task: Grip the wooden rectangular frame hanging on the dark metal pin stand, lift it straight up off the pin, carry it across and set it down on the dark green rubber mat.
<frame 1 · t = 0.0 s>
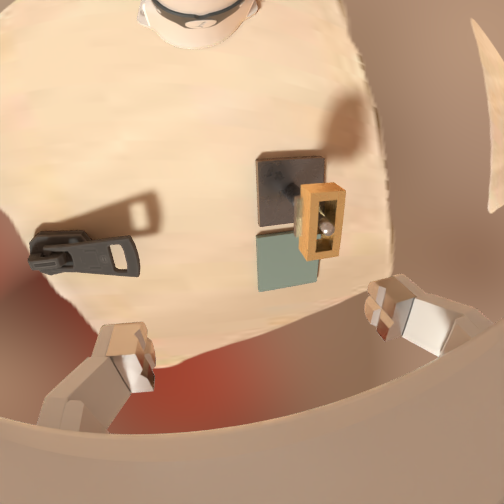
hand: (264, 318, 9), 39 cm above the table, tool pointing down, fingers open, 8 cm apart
rubber mat: (288, 259, 57), on the table
wooden rectangular frame: (316, 216, 39), point 12 cm above the table, touching pin stand
zipper pull: (84, 245, 46), on the table
pin stand: (289, 189, 49), on the table
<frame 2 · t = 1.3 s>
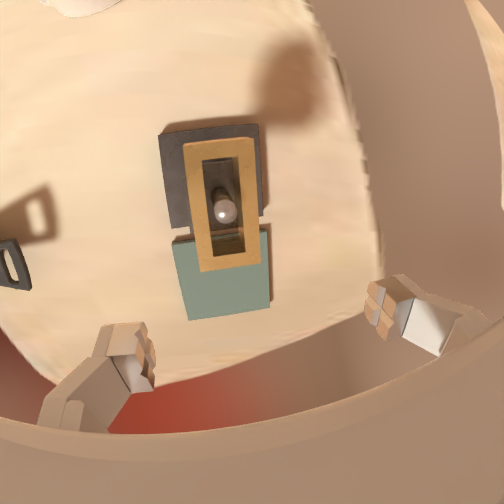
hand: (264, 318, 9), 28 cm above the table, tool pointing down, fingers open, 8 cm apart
rubber mat: (223, 276, 41), on the table
wooden rectangular frame: (220, 197, 23), point 12 cm above the table, touching pin stand
pin stand: (211, 174, 34), on the table
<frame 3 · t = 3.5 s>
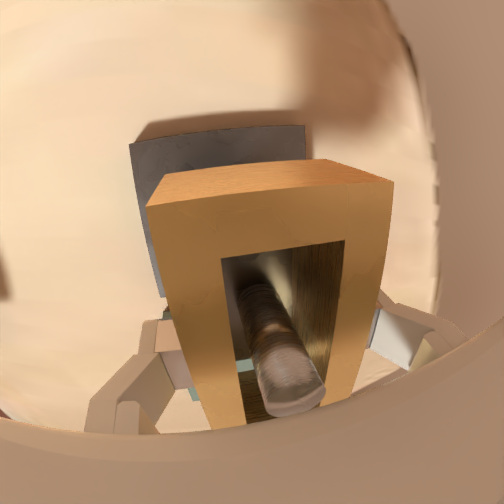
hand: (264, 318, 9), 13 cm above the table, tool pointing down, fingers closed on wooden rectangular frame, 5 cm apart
rubber mat: (240, 351, 27), on the table
wooden rectangular frame: (258, 302, 10), point 12 cm above the table, touching gripper, pin stand
pin stand: (223, 209, 21), on the table
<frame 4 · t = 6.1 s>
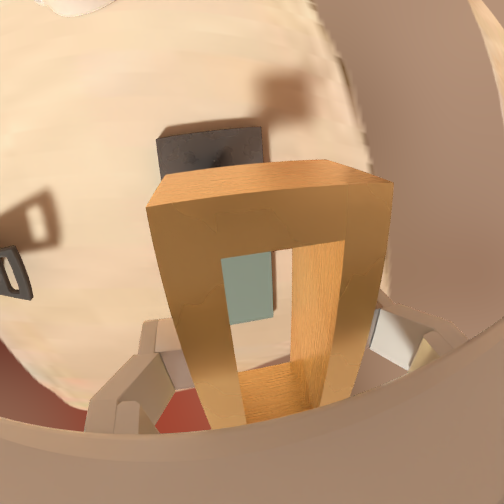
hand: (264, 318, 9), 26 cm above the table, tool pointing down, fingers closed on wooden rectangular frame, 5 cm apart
rubber mat: (225, 285, 39), on the table
wooden rectangular frame: (258, 302, 10), point 25 cm above the table, touching gripper
pin stand: (212, 179, 33), on the table
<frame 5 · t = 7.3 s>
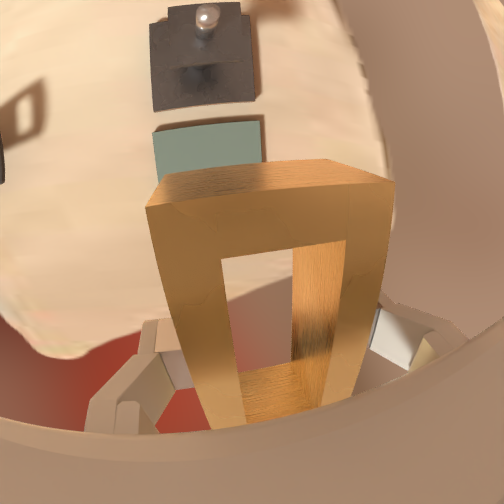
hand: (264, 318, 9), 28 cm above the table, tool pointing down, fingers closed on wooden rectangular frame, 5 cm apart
rubber mat: (210, 175, 34), on the table
wooden rectangular frame: (258, 302, 10), point 27 cm above the table, touching gripper
pin stand: (201, 61, 27), on the table
when the fingers open (3 cm above the table, at t = 10.9 s): wooden rectangular frame drops 1 cm, resting on rubber mat.
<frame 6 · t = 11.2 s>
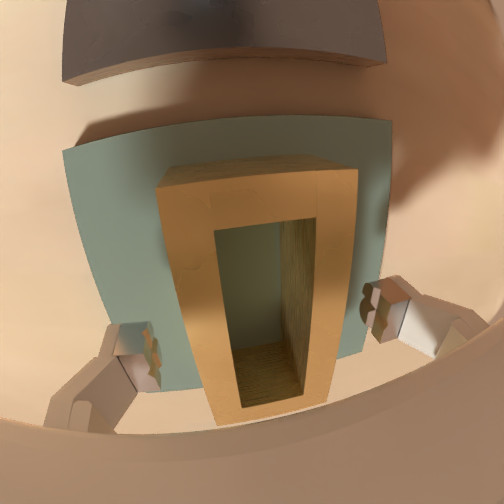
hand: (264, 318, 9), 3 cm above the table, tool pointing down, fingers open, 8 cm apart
rubber mat: (246, 270, 12), on the table
wooden rectangular frame: (250, 281, 12), point 1 cm above the table, touching rubber mat
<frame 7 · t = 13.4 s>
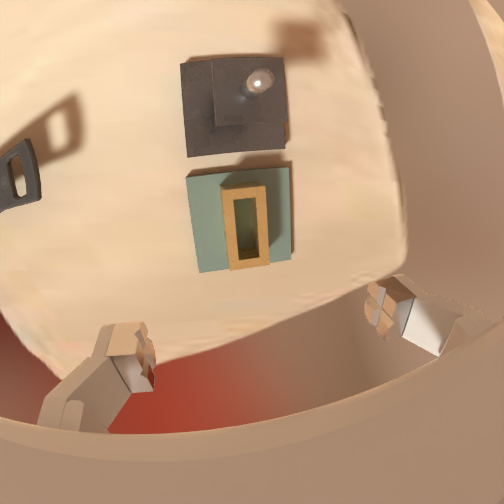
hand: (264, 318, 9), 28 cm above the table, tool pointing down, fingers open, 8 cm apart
rubber mat: (241, 219, 37), on the table
wooden rectangular frame: (242, 221, 36), point 1 cm above the table, touching rubber mat
zipper pull: (1, 188, 27), on the table
pin stand: (232, 105, 31), on the table
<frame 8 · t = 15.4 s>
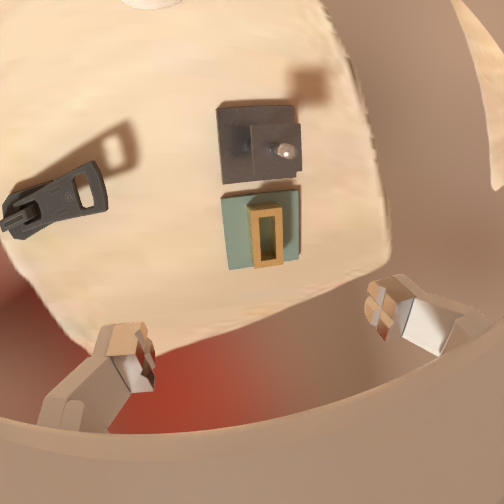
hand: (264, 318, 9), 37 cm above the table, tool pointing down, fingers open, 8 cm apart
rubber mat: (261, 229, 49), on the table
wooden rectangular frame: (262, 231, 48), point 1 cm above the table, touching rubber mat
zipper pull: (55, 198, 38), on the table
pin stand: (256, 142, 42), on the table
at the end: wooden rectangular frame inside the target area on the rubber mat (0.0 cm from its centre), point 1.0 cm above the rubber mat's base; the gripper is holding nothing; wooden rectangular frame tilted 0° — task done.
